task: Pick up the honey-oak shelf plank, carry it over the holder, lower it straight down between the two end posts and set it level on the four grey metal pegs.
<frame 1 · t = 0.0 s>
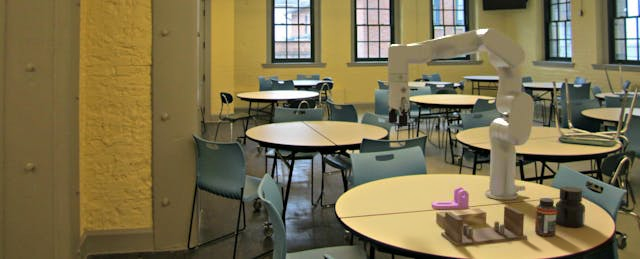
hand: (397, 124, 190), 31 cm above the table, tool pointing down, fingers open, 9 cm apart
holder: (483, 236, 160), on the table
bracket: (448, 207, 192), on the table
supplement bottle: (544, 234, 162), on the table
plank: (461, 223, 174), on the table
ink bottle: (569, 224, 171), on the table
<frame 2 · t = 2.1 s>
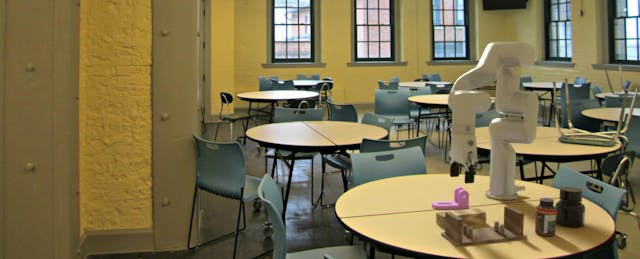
hand: (461, 179, 171), 15 cm above the table, tool pointing down, fingers open, 9 cm apart
nothing on the table moved.
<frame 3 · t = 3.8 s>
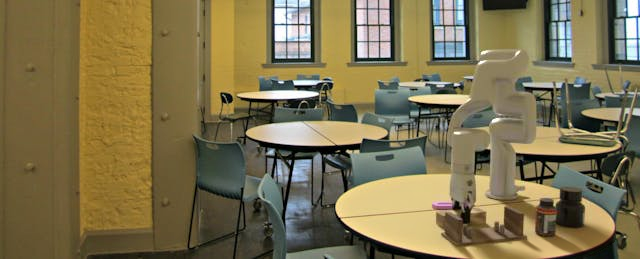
hand: (461, 220, 173), 1 cm above the table, tool pointing down, fingers closed on plank, 5 cm apart
plank: (460, 223, 173), on the table, touching gripper
everything else where it was.
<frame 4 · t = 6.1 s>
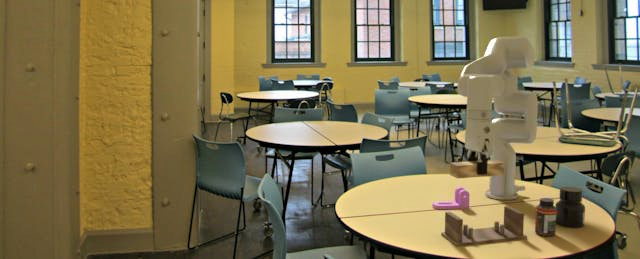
hand: (477, 171, 162), 20 cm above the table, tool pointing down, fingers closed on plank, 5 cm apart
plank: (476, 175, 162), point 19 cm above the table, touching gripper
everything else where it was.
when the fingers open (6 cm above the table, at t = 8.6 s): plank stays where it is, resting on holder.
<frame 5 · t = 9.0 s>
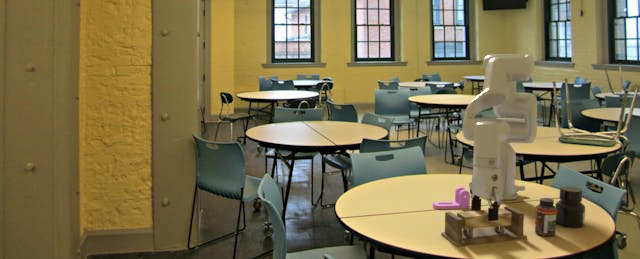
hand: (484, 215, 159), 7 cm above the table, tool pointing down, fingers open, 9 cm apart
plank: (483, 224, 160), point 4 cm above the table, touching holder
everything else where it was.
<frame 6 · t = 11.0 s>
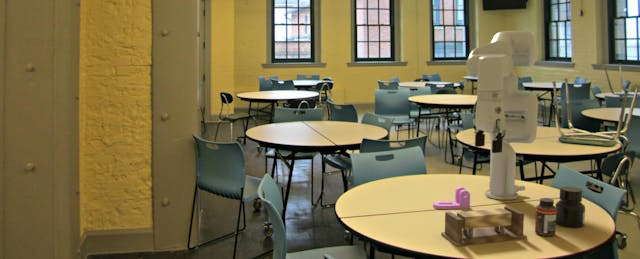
hand: (488, 149, 162), 27 cm above the table, tool pointing down, fingers open, 9 cm apart
nothing on the table moved.
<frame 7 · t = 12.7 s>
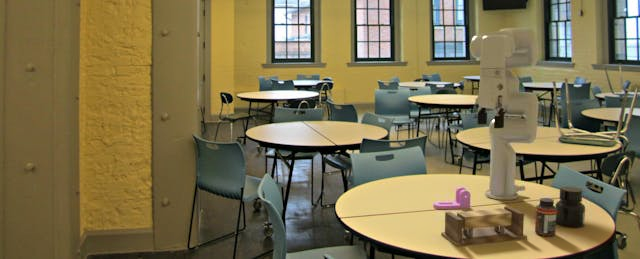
hand: (490, 126, 168), 33 cm above the table, tool pointing down, fingers open, 9 cm apart
nothing on the table moved.
at the end: plank 0.1 cm off-centre on the holder, point 3.8 cm above the holder's base; plank tilted 0°; the gripper is holding nothing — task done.
